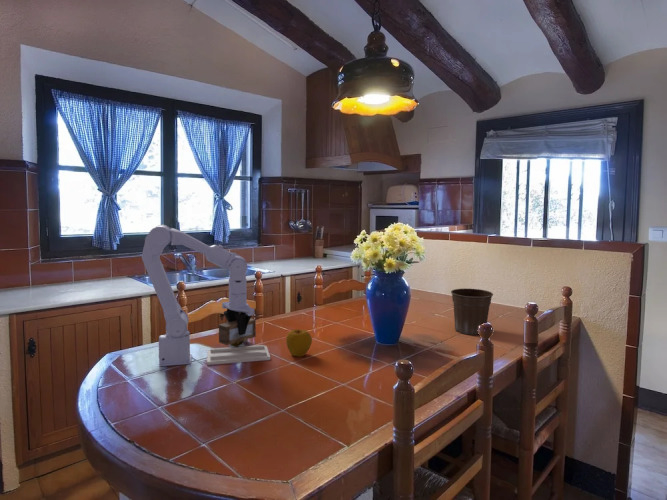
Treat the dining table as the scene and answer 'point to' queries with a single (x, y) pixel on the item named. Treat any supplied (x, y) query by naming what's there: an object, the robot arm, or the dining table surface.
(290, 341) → the apple
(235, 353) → the notch ledge
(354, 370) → the dining table surface
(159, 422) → the dining table surface
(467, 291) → the plant pot
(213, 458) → the dining table surface
